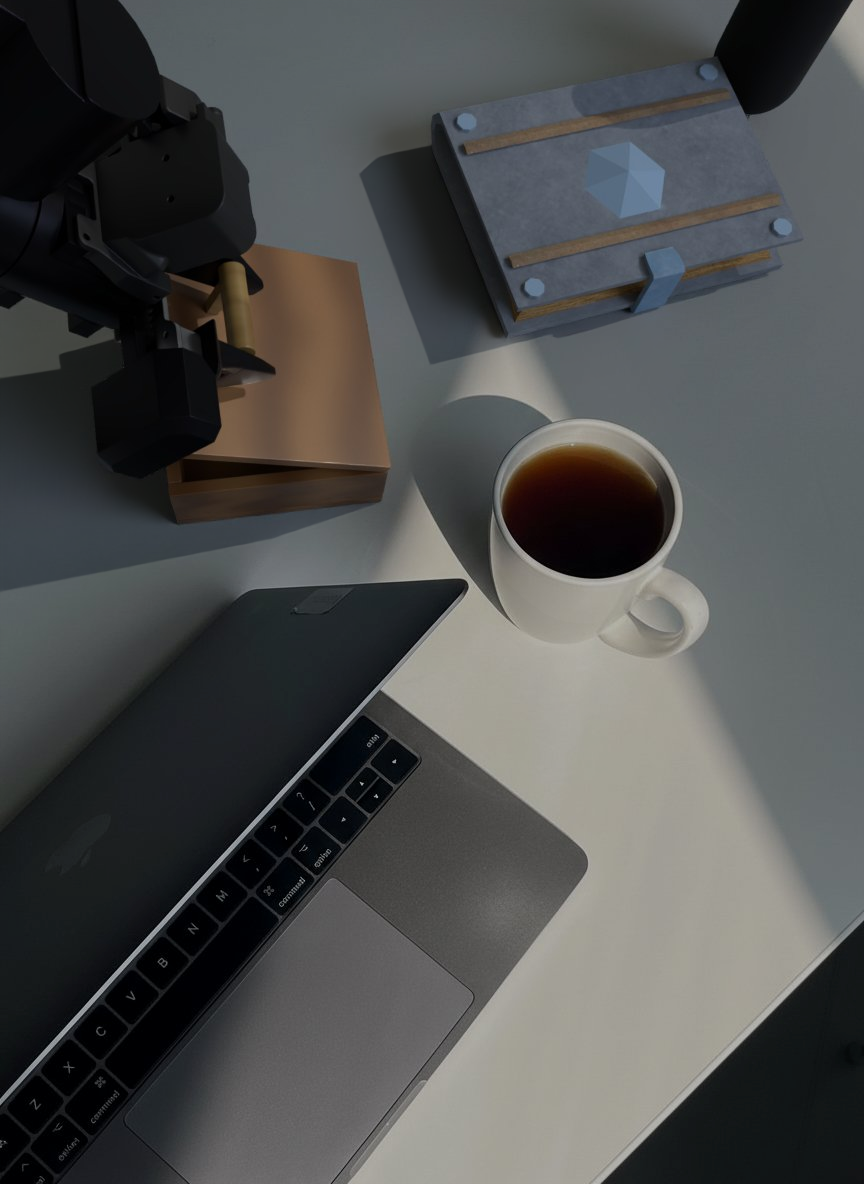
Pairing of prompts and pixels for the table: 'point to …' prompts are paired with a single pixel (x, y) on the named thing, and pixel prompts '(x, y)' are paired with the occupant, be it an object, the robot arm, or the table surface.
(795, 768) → the table surface
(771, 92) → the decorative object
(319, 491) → the chest
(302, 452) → the lid
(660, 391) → the table surface
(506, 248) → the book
